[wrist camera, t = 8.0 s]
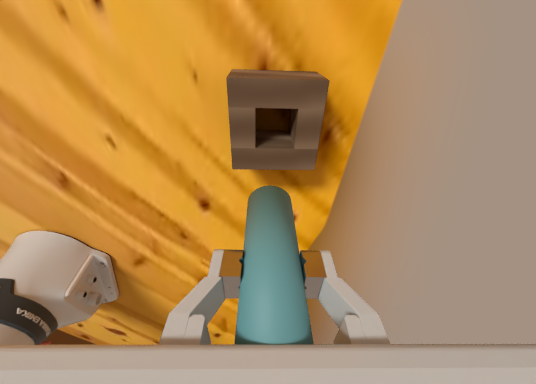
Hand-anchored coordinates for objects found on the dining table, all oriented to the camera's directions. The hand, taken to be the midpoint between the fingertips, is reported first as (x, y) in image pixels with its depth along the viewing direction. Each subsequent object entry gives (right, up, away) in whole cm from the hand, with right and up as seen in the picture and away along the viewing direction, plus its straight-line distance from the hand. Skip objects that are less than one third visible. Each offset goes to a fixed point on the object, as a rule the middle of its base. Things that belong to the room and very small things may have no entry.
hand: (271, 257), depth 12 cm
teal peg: (0, +3, +4) cm, 5 cm away
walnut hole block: (0, +14, +18) cm, 22 cm away
